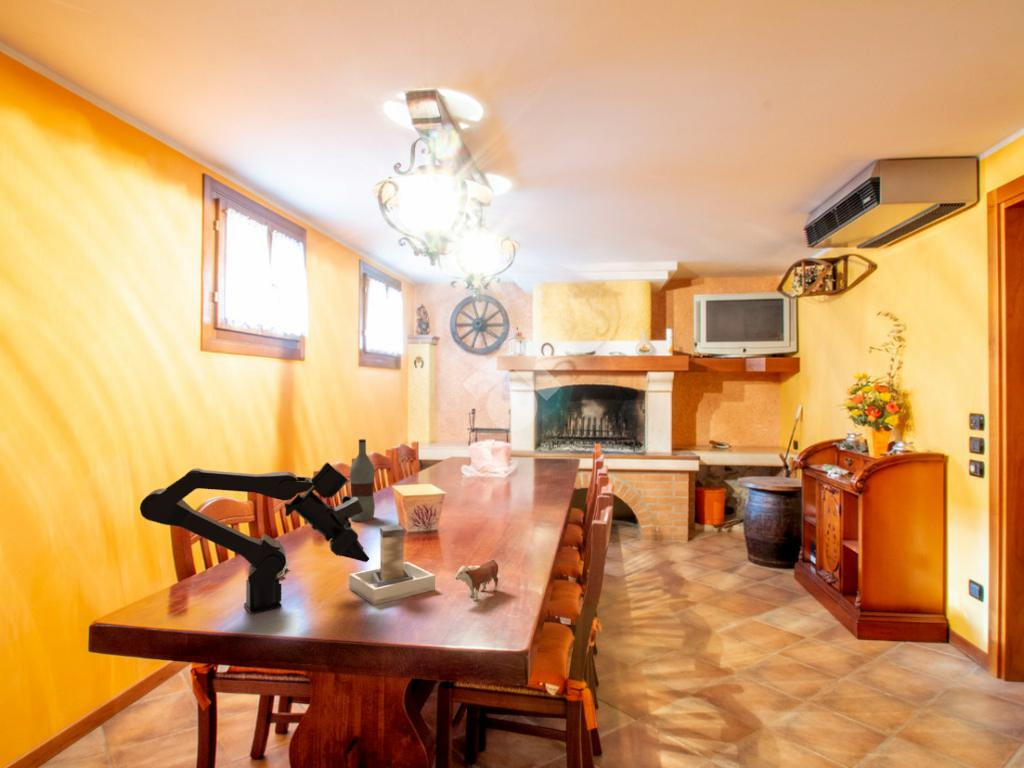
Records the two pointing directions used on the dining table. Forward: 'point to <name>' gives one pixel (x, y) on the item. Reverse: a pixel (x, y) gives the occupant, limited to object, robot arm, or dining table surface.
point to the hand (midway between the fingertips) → (365, 555)
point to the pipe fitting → (283, 569)
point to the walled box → (391, 584)
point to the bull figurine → (479, 576)
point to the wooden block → (391, 552)
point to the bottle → (363, 483)
